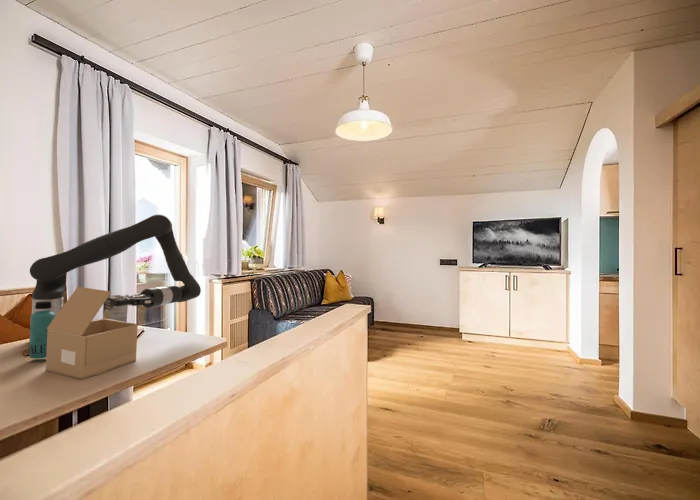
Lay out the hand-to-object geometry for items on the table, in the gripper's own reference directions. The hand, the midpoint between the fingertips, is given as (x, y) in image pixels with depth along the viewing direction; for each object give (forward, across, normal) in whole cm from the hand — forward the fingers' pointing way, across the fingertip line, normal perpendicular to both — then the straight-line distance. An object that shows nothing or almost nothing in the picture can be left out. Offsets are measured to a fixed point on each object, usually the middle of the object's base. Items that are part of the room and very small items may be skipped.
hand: (115, 303), depth 119 cm
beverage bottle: (+10, -19, +20) cm, 30 cm away
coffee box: (-23, -29, +20) cm, 42 cm away
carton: (+6, 0, +20) cm, 21 cm away
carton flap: (+12, 0, +1) cm, 12 cm away
